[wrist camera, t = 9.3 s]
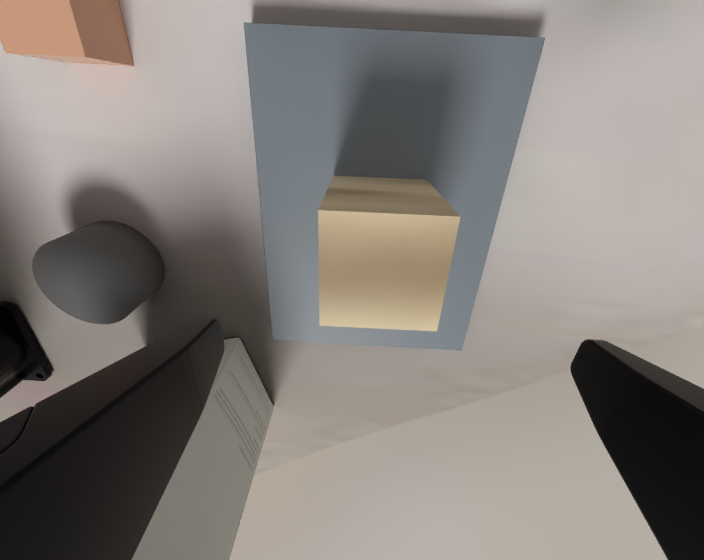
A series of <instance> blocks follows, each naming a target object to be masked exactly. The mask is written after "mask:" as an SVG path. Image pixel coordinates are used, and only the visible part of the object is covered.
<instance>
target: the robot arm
mask: <svg viewBox="0 0 704 560" xmlns="http://www.w3.org/2000/svg"><path fill="white" fill-rule="evenodd" d="M224 348H225V346H224V339H223V334H222V328H221V323H220V321H219V320H218V319H217V318H205V317H203V318H199V319H197V320H195V321H193V322H192V323H190V324H188V325H186V326H184V327H182V328H180V329H178V330H176V331H174V332H172V333H170V334H169V335H167V336H165V337H163V338H161V339H159V340H157V341H155V342H153V343H151V344H149V345H147V346H146V347H144V348H142V349H140V350H138V351H136V352H134V353H132V354H130V355H128V356H126V357H124V358H123V359H121V360H119V361H117V362H115V363H113V364H111V365H109V366H107V367H105V368H103V369H101V370H100V371H98V372H96V373H94V374H92V375H90V376H88V377H86V378H84V379H82V380H80V381H78V382H77V383H75V384H73V385H71V386H69V387H67V388H65V389H63V390H61V391H59V392H57V393H55V394H54V395H52V396H50V397H48V398H46V399H44V400H42V401H40V402H38V403H37V404H36V405H35V406H34V407H32V406H31V407H28V408H27V409H25V410H23V411H21V412H19V413H17V414H15V415H13V416H11V417H9V418H8V419H6V420H4V421H2V422H0V560H132V558H133V556H134V554H135V552H136V550H137V548H138V546H139V544H140V542H141V539H142V537H143V535H144V533H145V531H146V529H147V527H148V525H149V523H150V521H151V519H152V517H153V514H154V512H155V510H156V508H157V506H158V504H159V502H160V500H161V498H162V496H163V494H164V492H165V490H166V487H167V485H168V483H169V481H170V479H171V477H172V475H173V473H174V471H175V469H176V467H177V465H178V462H179V460H180V458H181V456H182V454H183V452H184V450H185V448H186V446H187V444H188V442H189V440H190V437H191V435H192V433H193V431H194V429H195V427H196V425H197V423H198V421H199V419H200V417H201V414H202V412H203V410H204V407H205V405H206V402H207V399H208V397H209V394H210V391H211V388H212V385H213V382H214V380H215V377H216V374H217V371H218V368H219V365H220V362H221V360H222V357H223V354H224ZM571 374H572V376H573V379H574V381H575V383H576V386H577V388H578V390H579V392H580V395H581V397H582V399H583V401H584V404H585V406H586V408H587V411H588V413H589V415H590V417H591V420H592V422H593V424H594V426H595V428H596V431H597V432H598V434H599V436H600V438H601V440H602V442H603V444H604V446H605V448H606V449H607V451H608V453H609V455H610V457H611V458H612V460H613V462H614V463H615V466H616V467H617V469H618V471H619V473H620V475H621V476H622V478H623V480H624V482H625V483H626V485H627V487H628V489H629V491H630V492H631V494H632V496H633V498H634V500H635V501H636V503H637V505H638V507H639V509H640V510H641V512H642V514H643V516H644V518H645V519H646V521H647V523H648V525H649V526H650V528H651V530H652V532H653V534H654V535H655V537H656V539H657V541H658V543H659V545H660V546H661V548H662V550H663V552H664V553H665V555H666V557H667V559H668V560H704V389H703V388H701V387H699V386H697V385H695V384H693V383H691V382H689V381H687V380H684V379H682V378H680V377H678V376H676V375H674V374H672V373H670V372H668V371H666V370H664V369H662V368H660V367H658V366H656V365H654V364H652V363H649V362H648V361H646V360H644V359H642V358H640V357H637V356H635V355H633V354H631V353H629V352H627V351H625V350H623V349H621V348H619V347H617V346H615V345H613V344H611V343H609V342H607V341H604V340H591V339H587V340H585V341H583V342H582V343H581V345H580V347H579V349H578V351H577V353H576V355H575V357H574V359H573V361H572V363H571ZM51 375H52V373H51V371H50V369H49V367H48V365H47V363H46V361H45V359H44V358H43V356H42V354H41V352H40V350H39V348H38V346H37V345H36V343H35V341H34V339H33V337H32V335H31V333H30V332H29V330H28V328H27V326H26V324H25V322H24V320H23V319H22V317H21V315H20V313H19V311H18V309H17V308H16V307H15V306H14V305H13V304H11V303H8V302H0V398H1V397H2V396H3V395H5V394H6V393H7V392H9V391H10V390H11V389H12V388H14V387H15V386H16V385H17V384H19V383H20V382H21V381H22V380H35V381H45V380H47V379H48V378H49V377H50V376H51Z"/></svg>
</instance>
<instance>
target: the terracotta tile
mask: <svg viewBox="0 0 704 560" xmlns="http://www.w3.org/2000/svg"><path fill="white" fill-rule="evenodd" d="M0 39H1V42H2V44H3V47H4V50H5V52H6V53H9V54H16V55H22V56H28V57H35V58H41V59H47V60H54V61H60V62H66V63H82V64H102V65H121V66H134V64H133V59H132V55H131V51H130V47H129V42H128V38H127V34H126V29H125V25H124V21H123V16H122V12H121V8H120V3H119V0H0Z"/></svg>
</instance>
